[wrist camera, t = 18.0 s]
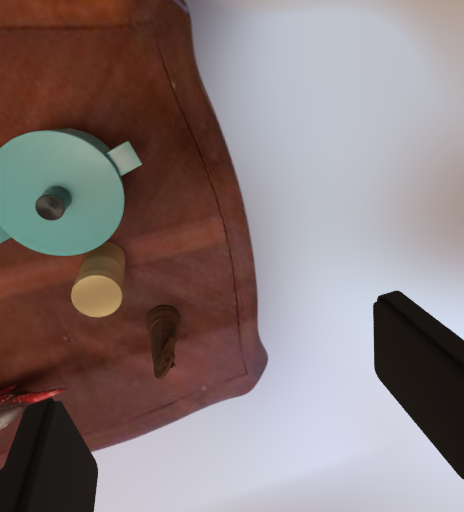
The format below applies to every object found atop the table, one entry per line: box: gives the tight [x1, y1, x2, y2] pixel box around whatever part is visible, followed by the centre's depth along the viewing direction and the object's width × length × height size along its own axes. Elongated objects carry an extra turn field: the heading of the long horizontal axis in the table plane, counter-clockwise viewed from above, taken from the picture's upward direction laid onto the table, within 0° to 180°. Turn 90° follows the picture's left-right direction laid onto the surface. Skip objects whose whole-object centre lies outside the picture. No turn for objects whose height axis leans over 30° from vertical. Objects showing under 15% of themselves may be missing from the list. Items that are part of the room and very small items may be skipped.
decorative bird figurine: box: [0, 384, 66, 430], centre depth 44 cm, size 3×18×10 cm, turn 112°
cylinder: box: [71, 241, 126, 317], centre depth 40 cm, size 5×5×9 cm
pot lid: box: [0, 130, 125, 256], centre depth 31 cm, size 11×11×4 cm
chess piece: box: [146, 306, 180, 379], centre depth 45 cm, size 5×5×10 cm
